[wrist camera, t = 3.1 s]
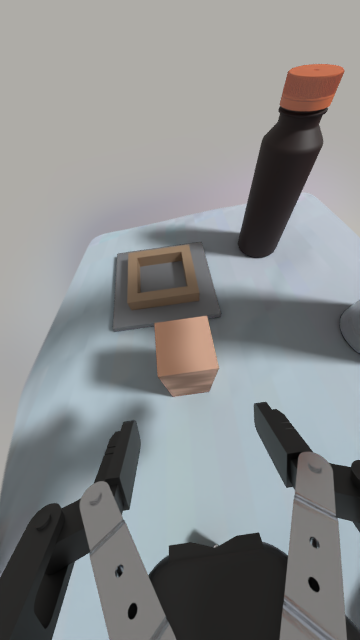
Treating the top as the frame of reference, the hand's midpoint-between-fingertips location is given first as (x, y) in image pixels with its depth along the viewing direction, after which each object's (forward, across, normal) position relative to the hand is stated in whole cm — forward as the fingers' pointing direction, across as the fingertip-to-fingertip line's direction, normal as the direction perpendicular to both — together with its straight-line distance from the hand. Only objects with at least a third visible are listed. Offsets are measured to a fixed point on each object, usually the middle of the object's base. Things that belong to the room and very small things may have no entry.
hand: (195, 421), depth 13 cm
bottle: (+27, -16, -12) cm, 33 cm away
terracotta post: (+11, 0, +4) cm, 12 cm away
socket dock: (+22, +2, -8) cm, 24 cm away
